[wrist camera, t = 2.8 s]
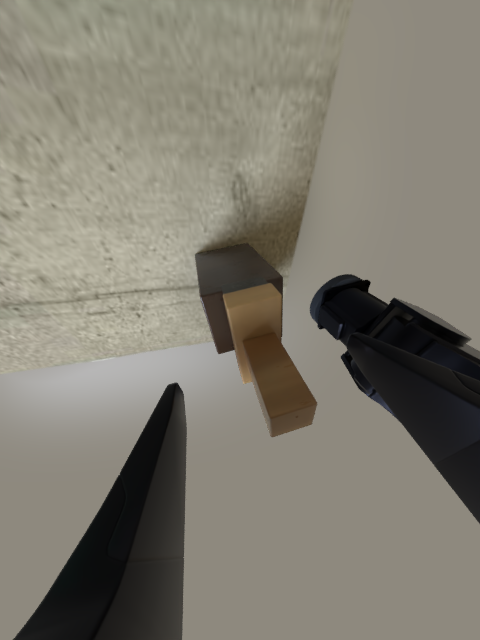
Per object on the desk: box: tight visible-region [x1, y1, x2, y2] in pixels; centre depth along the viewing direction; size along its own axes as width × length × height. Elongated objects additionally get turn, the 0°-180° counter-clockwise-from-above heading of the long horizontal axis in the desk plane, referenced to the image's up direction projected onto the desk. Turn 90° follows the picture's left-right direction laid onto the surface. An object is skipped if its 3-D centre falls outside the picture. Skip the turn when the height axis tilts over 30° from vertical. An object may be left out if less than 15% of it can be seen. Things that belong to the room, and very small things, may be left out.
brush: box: [221, 276, 317, 437], centre depth 9 cm, size 6×3×7 cm, turn 7°
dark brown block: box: [195, 243, 283, 354], centre depth 15 cm, size 5×5×8 cm
